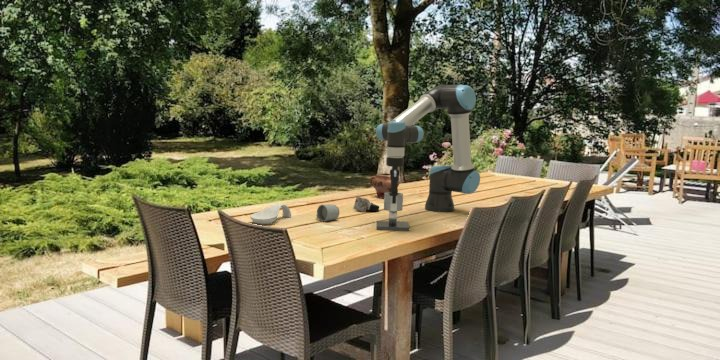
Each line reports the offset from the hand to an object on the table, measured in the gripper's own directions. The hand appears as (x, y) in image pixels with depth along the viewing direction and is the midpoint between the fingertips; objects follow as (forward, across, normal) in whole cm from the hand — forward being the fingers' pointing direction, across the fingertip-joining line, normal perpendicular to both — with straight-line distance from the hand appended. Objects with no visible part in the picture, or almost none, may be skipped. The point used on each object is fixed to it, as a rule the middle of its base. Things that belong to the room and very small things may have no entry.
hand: (393, 208), depth 247 cm
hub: (0, 0, 0) cm, 0 cm away
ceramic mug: (+9, -11, -30) cm, 33 cm away
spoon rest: (+9, -4, -54) cm, 55 cm away
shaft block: (+8, 0, 0) cm, 8 cm away
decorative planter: (+9, -82, -3) cm, 82 cm away
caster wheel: (+9, -38, -12) cm, 40 cm away
